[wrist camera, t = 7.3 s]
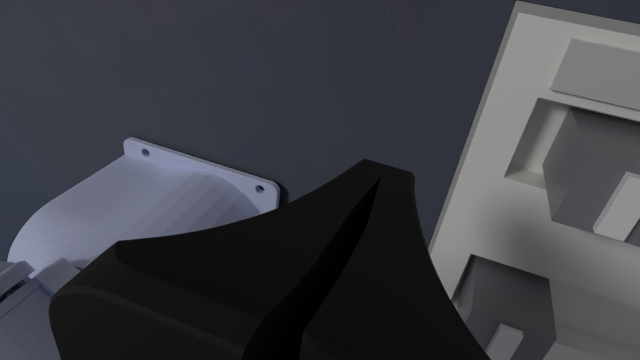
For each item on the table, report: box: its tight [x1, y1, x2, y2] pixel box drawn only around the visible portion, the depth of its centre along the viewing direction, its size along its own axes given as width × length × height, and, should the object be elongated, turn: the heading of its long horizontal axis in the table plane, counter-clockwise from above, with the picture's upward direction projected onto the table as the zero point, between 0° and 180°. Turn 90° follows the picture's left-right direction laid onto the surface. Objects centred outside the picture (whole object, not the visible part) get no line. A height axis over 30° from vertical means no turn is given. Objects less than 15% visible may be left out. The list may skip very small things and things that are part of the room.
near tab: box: [542, 107, 640, 247], centre depth 14 cm, size 3×2×4 cm
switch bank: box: [428, 1, 640, 360], centre depth 17 cm, size 13×15×3 cm
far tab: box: [457, 254, 557, 360], centre depth 18 cm, size 3×2×4 cm
